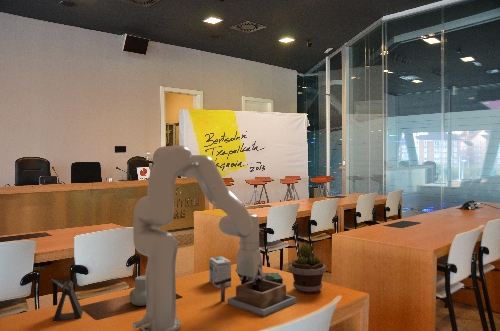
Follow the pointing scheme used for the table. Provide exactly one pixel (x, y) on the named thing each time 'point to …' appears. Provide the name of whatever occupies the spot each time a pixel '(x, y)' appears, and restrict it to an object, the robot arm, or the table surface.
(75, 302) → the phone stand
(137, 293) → the air freshener
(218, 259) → the light bulb box
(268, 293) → the frame
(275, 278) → the disk drive
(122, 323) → the table surface
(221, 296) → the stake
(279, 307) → the tray
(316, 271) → the flowerpot
